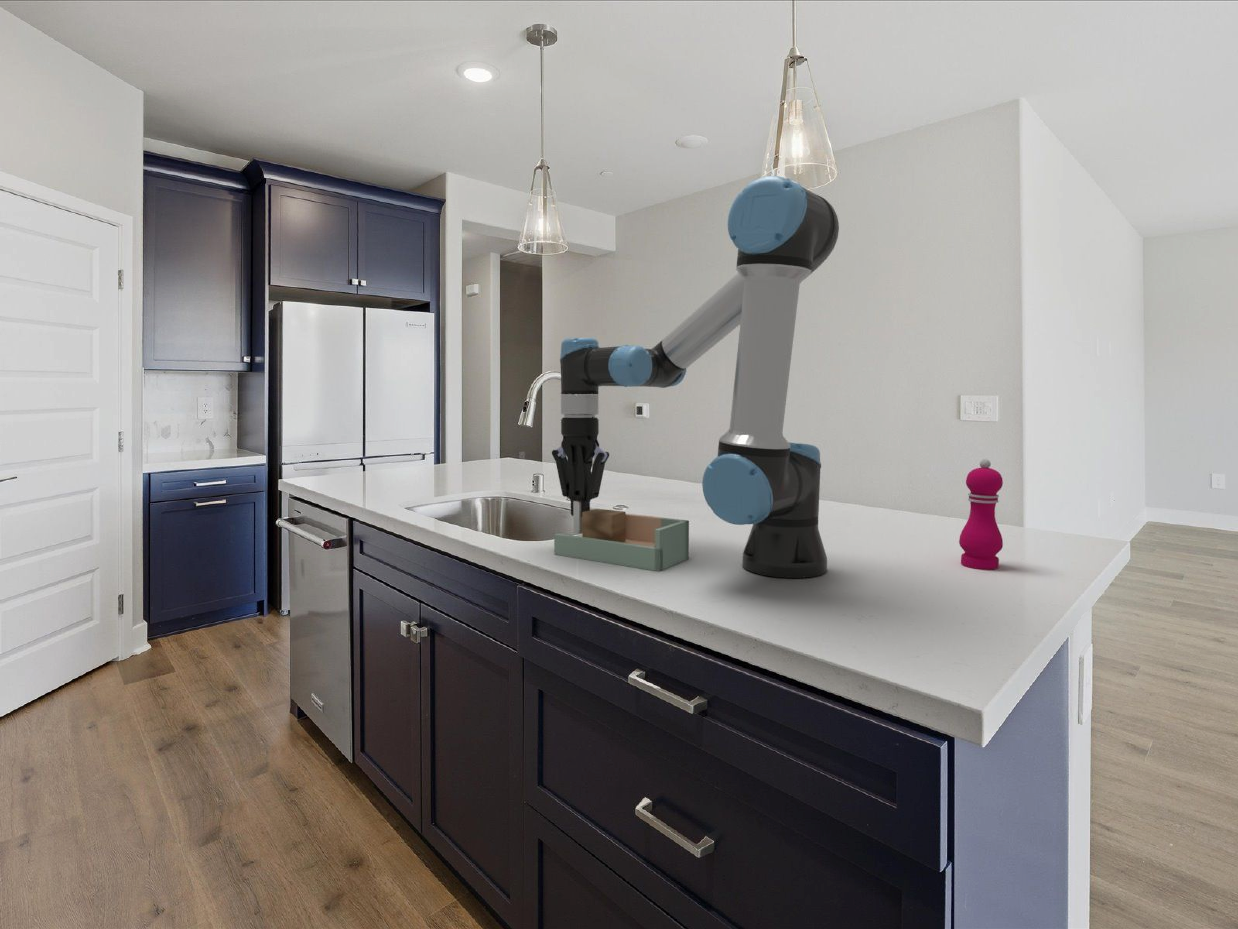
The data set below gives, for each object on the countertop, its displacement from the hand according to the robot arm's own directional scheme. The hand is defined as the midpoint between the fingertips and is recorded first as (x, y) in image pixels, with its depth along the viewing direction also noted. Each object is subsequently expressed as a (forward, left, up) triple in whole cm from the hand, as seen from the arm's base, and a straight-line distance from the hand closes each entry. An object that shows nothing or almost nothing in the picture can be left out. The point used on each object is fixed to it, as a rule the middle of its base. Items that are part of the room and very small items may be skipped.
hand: (580, 532), depth 139 cm
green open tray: (-10, 0, -4) cm, 11 cm away
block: (-6, 0, -1) cm, 6 cm away
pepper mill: (-70, -31, -4) cm, 76 cm away
